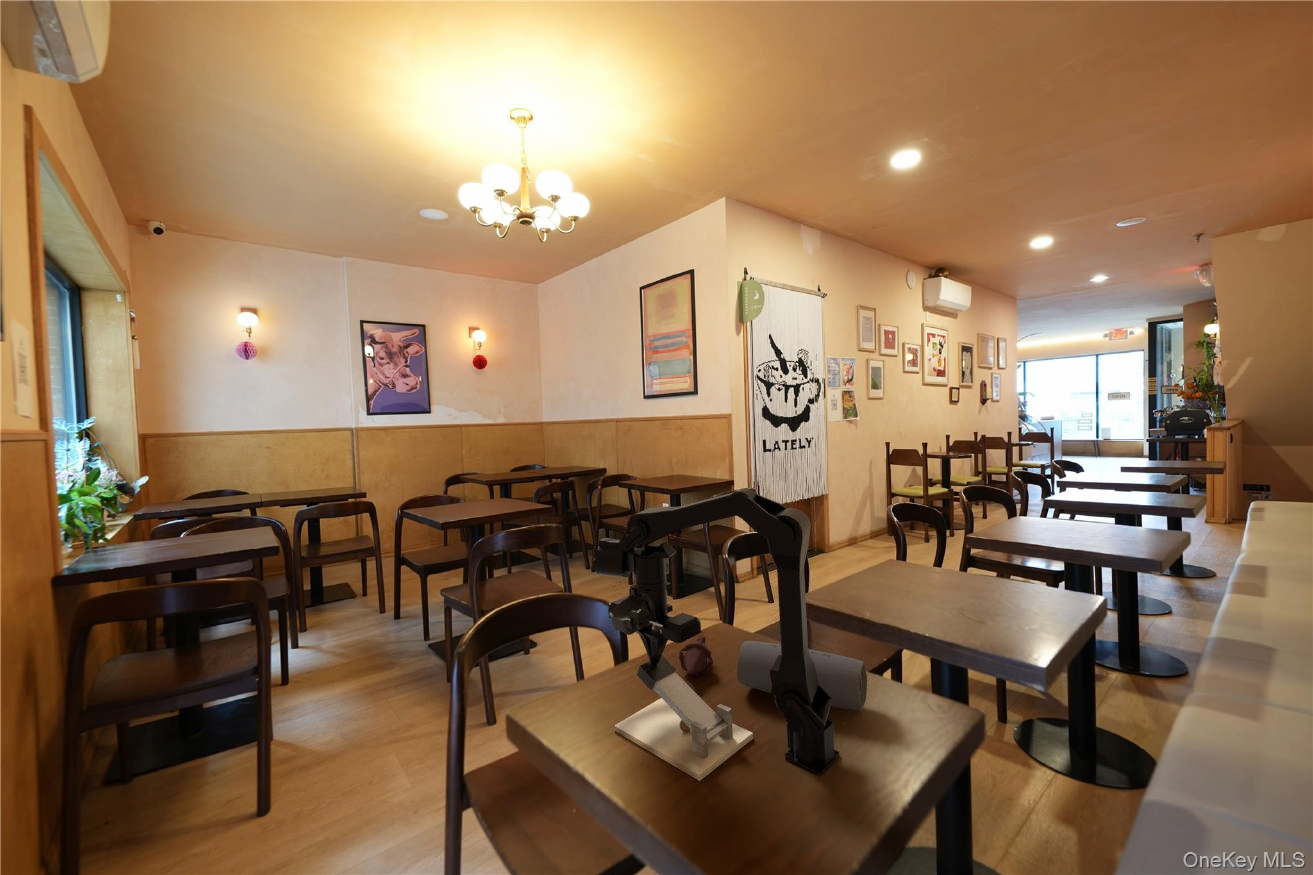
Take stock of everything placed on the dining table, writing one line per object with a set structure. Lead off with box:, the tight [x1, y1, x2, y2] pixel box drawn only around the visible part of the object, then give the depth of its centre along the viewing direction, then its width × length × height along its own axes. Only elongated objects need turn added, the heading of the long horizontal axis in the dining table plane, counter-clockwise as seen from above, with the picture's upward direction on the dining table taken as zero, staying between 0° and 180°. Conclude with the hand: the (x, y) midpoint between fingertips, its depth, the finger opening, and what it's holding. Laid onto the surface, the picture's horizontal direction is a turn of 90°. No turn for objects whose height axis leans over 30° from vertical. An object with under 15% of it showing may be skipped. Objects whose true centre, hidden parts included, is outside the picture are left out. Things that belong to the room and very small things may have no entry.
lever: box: [636, 655, 727, 744], centre depth 95 cm, size 17×6×2 cm, turn 46°
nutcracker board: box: [613, 697, 754, 782], centre depth 95 cm, size 20×14×6 cm
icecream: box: [678, 634, 714, 676], centre depth 117 cm, size 7×7×15 cm
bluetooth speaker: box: [736, 640, 868, 711], centre depth 104 cm, size 23×9×10 cm, turn 60°
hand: (654, 663), depth 99 cm, fingers closed
